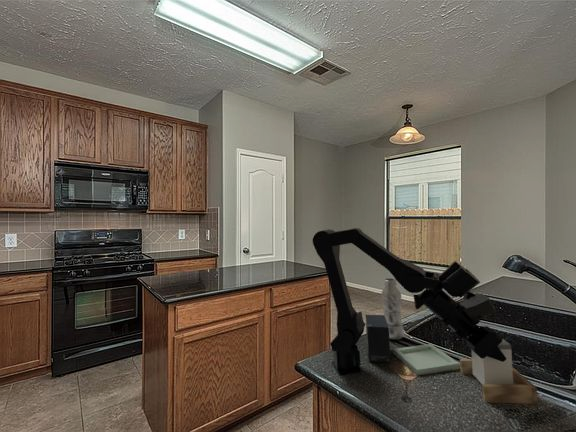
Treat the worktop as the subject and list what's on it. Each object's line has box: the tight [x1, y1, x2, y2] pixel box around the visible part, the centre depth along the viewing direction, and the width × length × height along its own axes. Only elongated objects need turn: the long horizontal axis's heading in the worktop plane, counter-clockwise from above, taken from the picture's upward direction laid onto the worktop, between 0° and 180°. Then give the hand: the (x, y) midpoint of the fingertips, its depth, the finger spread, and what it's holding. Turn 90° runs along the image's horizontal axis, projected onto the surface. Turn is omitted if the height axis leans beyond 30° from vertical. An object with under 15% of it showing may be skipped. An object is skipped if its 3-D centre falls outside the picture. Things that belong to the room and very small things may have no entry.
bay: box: [459, 358, 539, 405], centre depth 71 cm, size 10×12×4 cm
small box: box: [364, 314, 391, 363], centre depth 91 cm, size 11×6×10 cm, turn 169°
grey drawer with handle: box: [470, 334, 513, 385], centre depth 71 cm, size 6×6×11 cm
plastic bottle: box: [380, 277, 405, 341], centre depth 101 cm, size 6×7×20 cm
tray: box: [392, 343, 461, 376], centre depth 85 cm, size 12×12×2 cm
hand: (496, 353), depth 71 cm, fingers closed on grey drawer with handle, 6 cm apart
